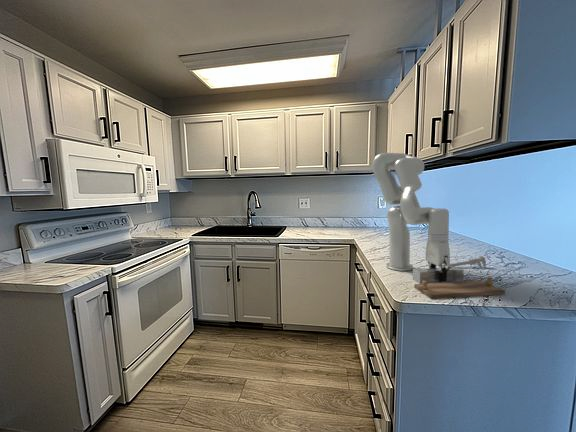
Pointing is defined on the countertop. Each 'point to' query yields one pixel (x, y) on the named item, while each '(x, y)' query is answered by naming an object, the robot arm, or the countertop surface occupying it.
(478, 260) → the caliper
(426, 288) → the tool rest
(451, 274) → the light grey block
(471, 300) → the countertop surface
